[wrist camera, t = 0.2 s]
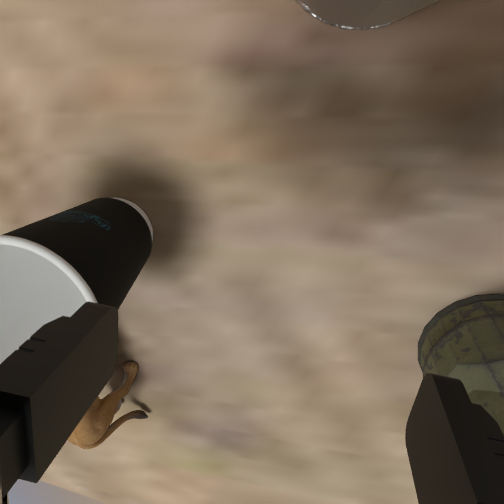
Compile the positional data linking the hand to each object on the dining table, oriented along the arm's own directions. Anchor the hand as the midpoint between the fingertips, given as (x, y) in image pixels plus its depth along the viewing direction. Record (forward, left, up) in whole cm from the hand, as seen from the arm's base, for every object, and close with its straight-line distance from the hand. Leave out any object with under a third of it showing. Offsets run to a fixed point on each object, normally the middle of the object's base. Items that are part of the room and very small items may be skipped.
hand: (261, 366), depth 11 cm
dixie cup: (+6, -11, -18) cm, 22 cm away
